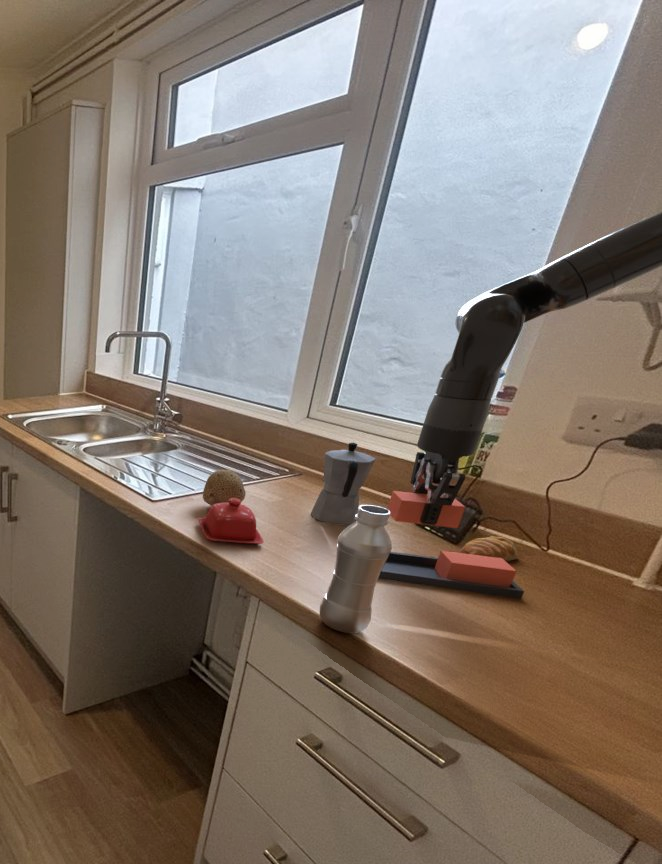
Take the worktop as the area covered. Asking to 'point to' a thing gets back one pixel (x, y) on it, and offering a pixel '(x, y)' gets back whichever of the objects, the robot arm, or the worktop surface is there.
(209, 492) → the natural sponge
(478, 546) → the pastry
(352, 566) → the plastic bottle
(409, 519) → the red toy brick
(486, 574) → the red block
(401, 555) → the tray
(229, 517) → the butter dish
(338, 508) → the coffeepot
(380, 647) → the worktop surface
